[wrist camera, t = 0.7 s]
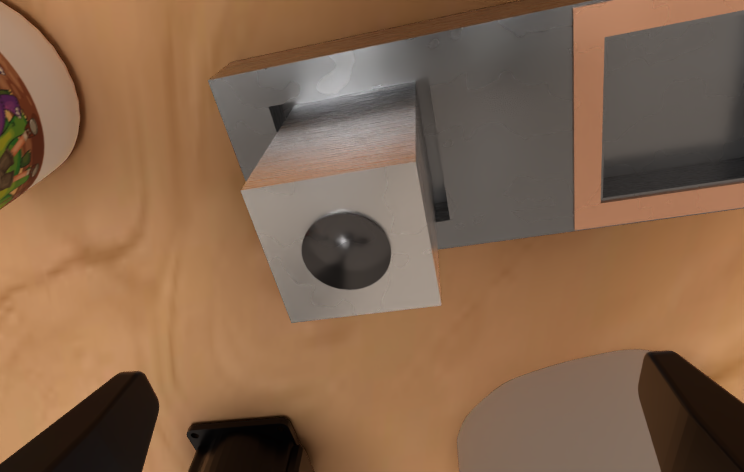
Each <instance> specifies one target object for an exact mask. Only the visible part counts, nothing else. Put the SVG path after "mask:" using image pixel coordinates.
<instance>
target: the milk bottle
mask: <svg viewBox="0 0 744 472" xmlns="http://www.w3.org/2000/svg"><path fill="white" fill-rule="evenodd" d="M79 123H80V111H79V100H78V97H77V93H76V90H75V86H74V82H73V80H72V78H71V76H70V74H69V72H68V70H67V67H66V65H65V64H64V62H63V61H62V59H61V58H60V56H59V55H58V53H57V52H56V50H55V48H54V47H53V46H52V45H51V43H50V42H49V41H48V40H47V39H46V38H45V37H44V36H43V34H42V33H41V32H40V31H39V30H38V29H37V28H36V27H35V26H34V25H32V24H31V23H30V22H29V21H28V20H27V19H25V18H24V17H23V16H22V15H21V14H20V13H18V12H16V11H15V10H13V9H12V8H10V7H8V6H7V5H6V4H4V3H3V2H1V1H0V209H2V208H3V207H4V206H6V205H7V204H9V203H10V202H11V201H13V200H14V199H16V198H17V197H18V196H20V195H21V194H23V193H24V192H25V191H27V190H28V189H30V188H31V187H33V186H34V185H35V184H37V183H38V182H40V181H41V180H42V179H44V178H45V177H46V176H48V175H49V174H50V173H51V172H53V171H54V170H55V169H56V168H58V167H59V166H60V165H61V164H62V163H63V162H64V161H65V160H66V159H67V158H68V156H69V155H70V153H71V152H72V150H73V148H74V145H75V142H76V139H77V136H78V131H79Z"/></svg>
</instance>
